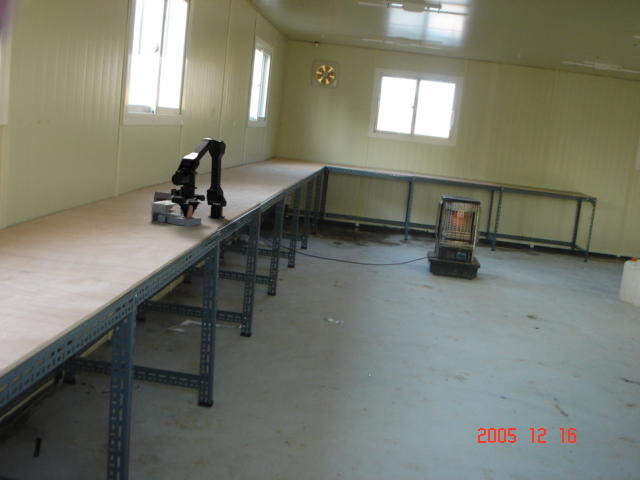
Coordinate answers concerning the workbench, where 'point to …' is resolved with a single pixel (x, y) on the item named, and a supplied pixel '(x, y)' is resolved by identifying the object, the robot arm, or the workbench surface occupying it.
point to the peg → (189, 213)
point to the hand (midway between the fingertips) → (188, 216)
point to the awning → (161, 209)
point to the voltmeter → (164, 198)
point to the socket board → (179, 219)
